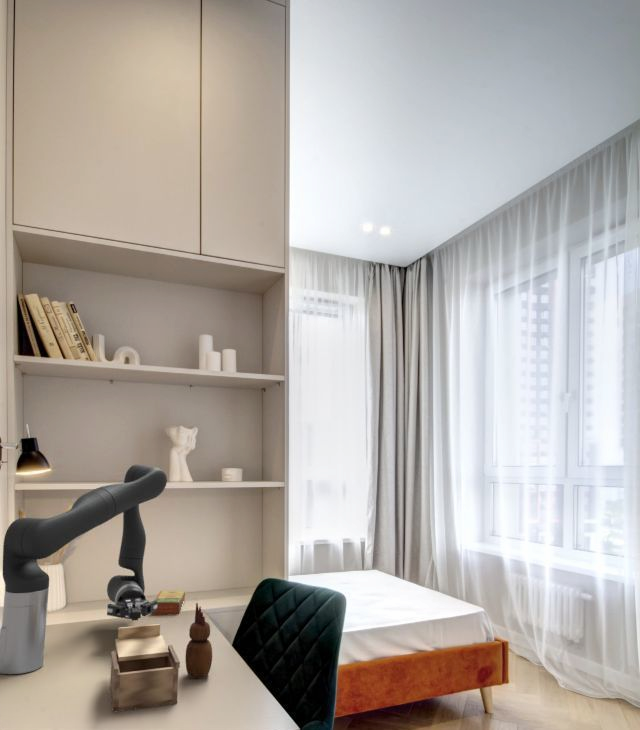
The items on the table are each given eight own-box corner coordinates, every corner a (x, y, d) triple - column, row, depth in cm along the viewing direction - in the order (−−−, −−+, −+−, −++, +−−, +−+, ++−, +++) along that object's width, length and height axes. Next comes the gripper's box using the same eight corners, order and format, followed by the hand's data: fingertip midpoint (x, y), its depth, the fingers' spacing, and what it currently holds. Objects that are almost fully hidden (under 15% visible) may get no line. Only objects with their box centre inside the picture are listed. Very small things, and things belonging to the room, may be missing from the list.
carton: (184, 603, 198) (185, 590, 199) (179, 616, 182) (180, 601, 183) (159, 603, 197) (160, 590, 198) (151, 616, 182) (152, 601, 182)
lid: (118, 661, 120) (119, 644, 121) (115, 643, 132) (116, 627, 132) (168, 655, 124) (169, 639, 124) (161, 638, 136) (162, 623, 136)
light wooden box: (111, 712, 112) (114, 669, 113) (108, 687, 124) (111, 649, 125) (178, 702, 117) (179, 661, 118) (169, 680, 129) (171, 642, 130)
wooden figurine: (183, 671, 134) (186, 602, 136) (209, 669, 135) (211, 600, 138) (186, 682, 127) (189, 609, 130) (213, 679, 129) (215, 607, 131)
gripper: (105, 587, 158) (107, 602, 142) (156, 584, 163) (164, 597, 147) (103, 617, 157) (105, 635, 141) (154, 612, 162) (162, 629, 146)
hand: (135, 616), depth 144 cm, fingers closed
